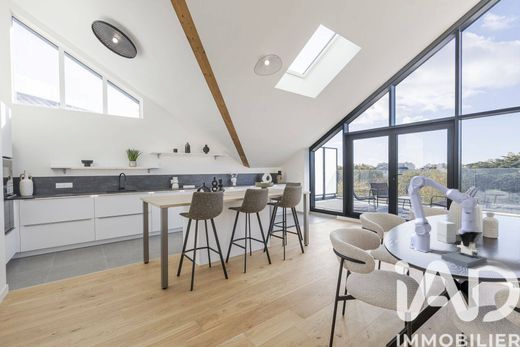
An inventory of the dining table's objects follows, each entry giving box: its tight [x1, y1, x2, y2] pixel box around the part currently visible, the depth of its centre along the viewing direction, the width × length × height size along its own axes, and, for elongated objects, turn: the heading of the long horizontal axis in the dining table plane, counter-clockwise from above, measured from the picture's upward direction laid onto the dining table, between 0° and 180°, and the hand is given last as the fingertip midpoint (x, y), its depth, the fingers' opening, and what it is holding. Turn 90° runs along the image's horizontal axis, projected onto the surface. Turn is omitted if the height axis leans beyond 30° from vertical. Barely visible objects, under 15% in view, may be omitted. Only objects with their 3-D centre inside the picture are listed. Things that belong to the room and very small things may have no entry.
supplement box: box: [436, 220, 457, 244], centre depth 164 cm, size 7×7×13 cm
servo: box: [456, 241, 481, 255], centre depth 132 cm, size 9×3×6 cm, turn 24°
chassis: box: [441, 249, 488, 269], centre depth 131 cm, size 12×17×2 cm
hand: (467, 245), depth 132 cm, fingers closed on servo, 3 cm apart
